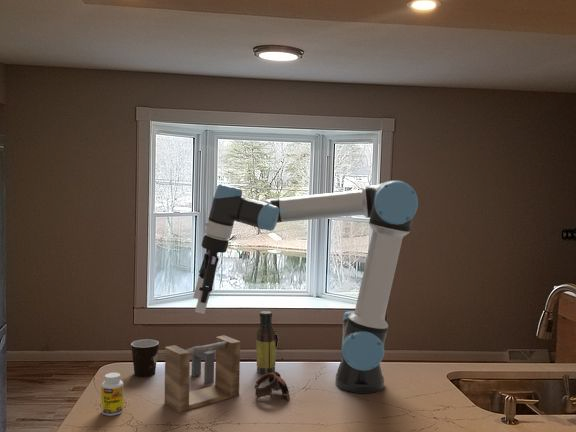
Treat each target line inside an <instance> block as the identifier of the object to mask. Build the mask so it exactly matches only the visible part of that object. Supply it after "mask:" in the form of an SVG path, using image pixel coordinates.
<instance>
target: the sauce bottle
mask: <svg viewBox="0 0 576 432" xmlns="http://www.w3.org/2000/svg"><path fill="white" fill-rule="evenodd" d="M259 317H260V319H259V320H260V321H259V322H260V323H259V327H258V330H257V332H256V371H257V372H258V373H259V374H263V375H265V374H267V373H274V372H276V332H275V329H274V328H273V326H272V325H273V324H272V323H273V322H272V317H273V312H272V311H269V310H262V311H260V312H259Z"/></svg>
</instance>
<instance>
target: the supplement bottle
mask: <svg viewBox="0 0 576 432" xmlns="http://www.w3.org/2000/svg"><path fill="white" fill-rule="evenodd" d="M121 378H122V377H121V374H120V373H119V372H108V373H106V374H105V375H104V381H103V382H102V383H101V401H100V402H101V407H100V408H101V410H100V411H101V413H102V415H105V416H109V417H110V416H117V415H119V414H121V413H122V412H123V410H124V382H123V380H121Z"/></svg>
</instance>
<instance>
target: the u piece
mask: <svg viewBox="0 0 576 432" xmlns="http://www.w3.org/2000/svg"><path fill="white" fill-rule="evenodd" d="M199 346H200V345H196V346H192V347H191V348H195V347H199ZM202 360H204V370H203V371H204V372H203V373H204V375H203V378H204V379H203V381H204V383H206V384H210V383H212V382H213V383H214V382H215V352H214V351H213V350H212V351H207V352H202V353H198V354H193V355H191V376H192V377H197V376H201V375H202Z"/></svg>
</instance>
